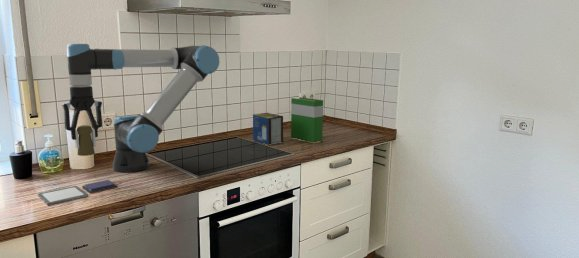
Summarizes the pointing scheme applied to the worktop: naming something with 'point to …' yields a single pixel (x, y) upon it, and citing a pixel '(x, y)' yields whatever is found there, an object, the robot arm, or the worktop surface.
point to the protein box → (267, 128)
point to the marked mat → (62, 195)
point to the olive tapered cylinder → (85, 141)
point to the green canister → (307, 119)
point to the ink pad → (99, 186)
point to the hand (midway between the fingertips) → (85, 146)
